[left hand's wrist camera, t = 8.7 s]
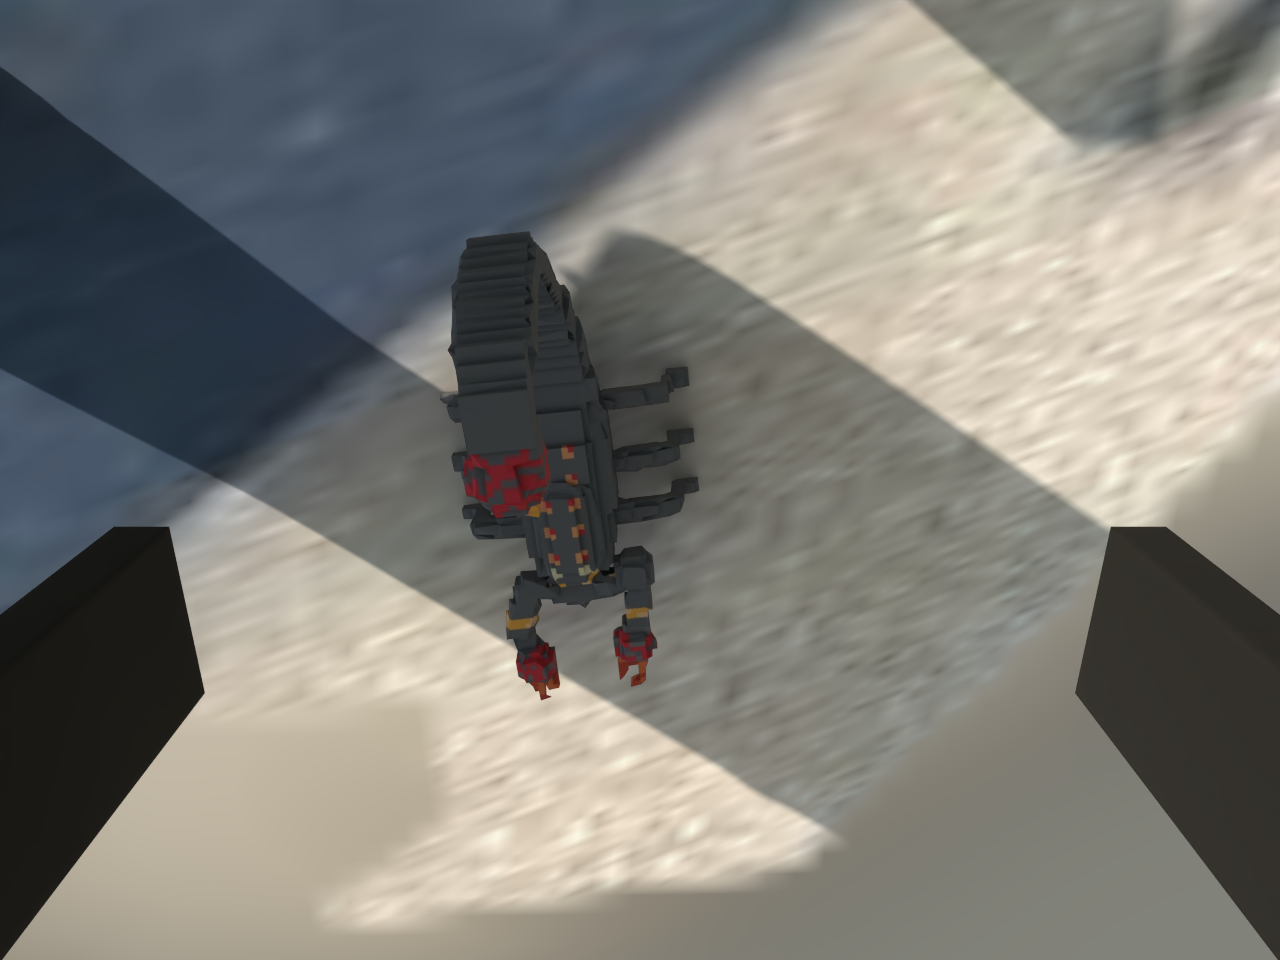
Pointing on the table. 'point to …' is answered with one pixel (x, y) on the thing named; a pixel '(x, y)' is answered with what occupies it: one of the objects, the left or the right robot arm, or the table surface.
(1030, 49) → the table surface
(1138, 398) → the table surface
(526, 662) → the toy
